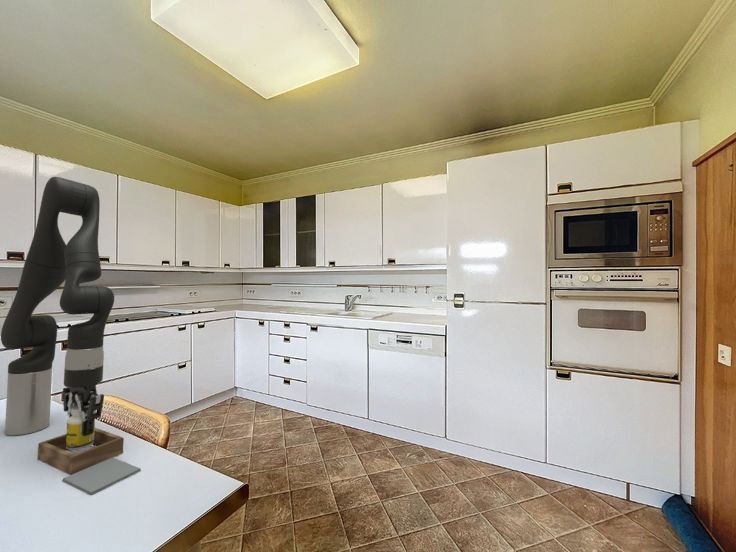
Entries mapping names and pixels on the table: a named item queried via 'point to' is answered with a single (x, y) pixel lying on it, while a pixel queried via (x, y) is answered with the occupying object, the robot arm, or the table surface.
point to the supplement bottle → (77, 431)
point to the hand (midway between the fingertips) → (80, 431)
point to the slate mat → (101, 475)
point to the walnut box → (69, 463)
